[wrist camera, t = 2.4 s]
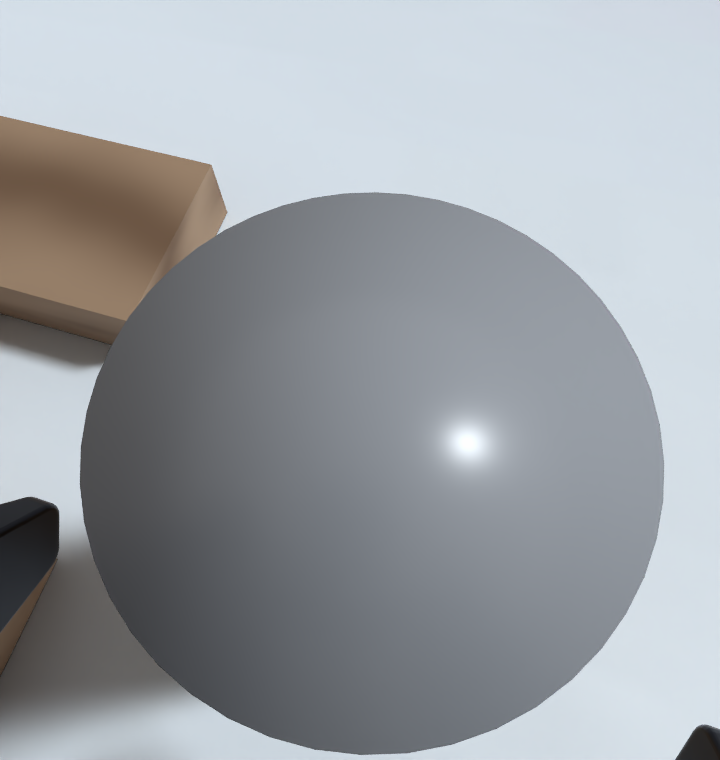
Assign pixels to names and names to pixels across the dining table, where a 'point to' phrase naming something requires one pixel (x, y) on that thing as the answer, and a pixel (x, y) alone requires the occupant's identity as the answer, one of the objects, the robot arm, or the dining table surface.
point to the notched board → (91, 239)
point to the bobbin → (372, 473)
